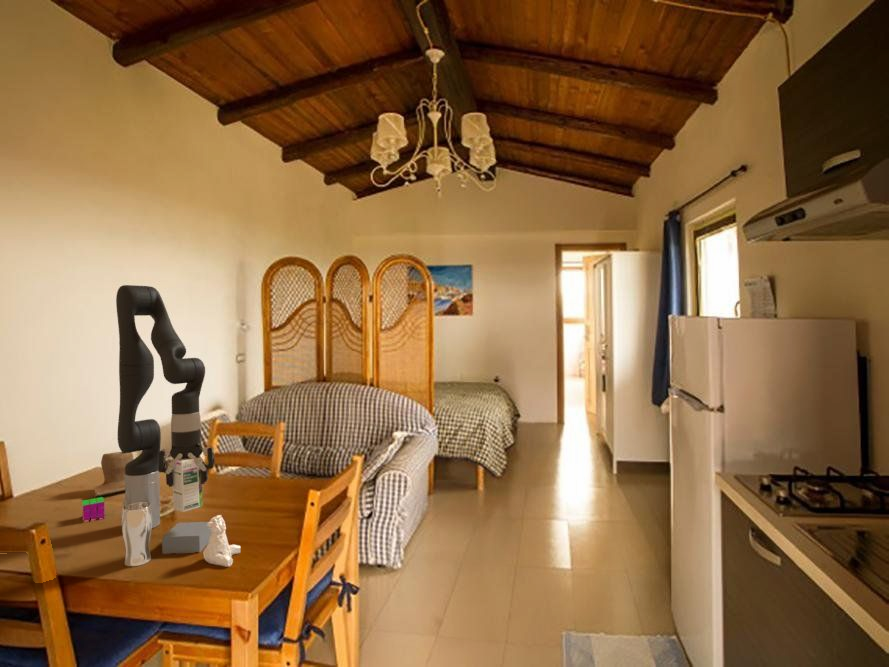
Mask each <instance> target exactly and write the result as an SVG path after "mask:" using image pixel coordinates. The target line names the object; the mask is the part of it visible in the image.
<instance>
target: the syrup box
mask: <svg viewBox="0 0 889 667" xmlns="http://www.w3.org/2000/svg"><path fill="white" fill-rule="evenodd" d="M201 458H202V457H201V456H200V457H198V459H199V460H200V461H201ZM194 460H195V459H190V458H183V459H177V460H176V461H177V464H176V466H175V467H174V468H173V470H172V476H173V486H172V496H173V497H172V500H173V502H172V503H173V509H174V510H176V511H178V512H181V513H186V512H189V511H193V510H196V509H198V508H202V507H203V506H204V504H203V484H201V471H202V470H201V468H200V467H199V466H197V465H196V464H195V462H194ZM173 461H174V458H172V459H171V463H172V462H173Z"/></svg>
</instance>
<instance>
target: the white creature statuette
mask: <svg viewBox="0 0 889 667" xmlns="http://www.w3.org/2000/svg"><path fill="white" fill-rule="evenodd" d="M208 522H209V523H207V526H208V527H209V529H210V530H211V532H212V535H210V537H209V541H208V544H207V545H206V546H205V547H204V548H203V550H202V552H203V553H202V554H203V558H204V561H205V562H207V563H208V564H211V565H215V566H222V567H225V568H228V567H231V566H232V565H233V563H234V559H233V558H232V556H233V555H238V554H241V545H238V544H234V543H233V544H229V541H228V537H227V534H226V530H227V527H226V521H225V520H224V518H223V517H222V514H217V515H215V516H213V517H212V518H210V520H209V521H208Z"/></svg>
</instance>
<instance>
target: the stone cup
mask: <svg viewBox="0 0 889 667" xmlns="http://www.w3.org/2000/svg"><path fill="white" fill-rule="evenodd" d="M134 459H135V458H134V452H131V453H124V452H122V451H116V452H108V453H104V454H103V455H102V457H101V461H100V464H101V465H100V466H101V469H102V473H103V474H102V475H103V479H104V481H103V482H102V483H101V484H100V485H97V486H94V488H93V494H94V498H95V497H96V496H97V497H103V496H108V495H112V493H113V494H116V492H117V493H120V492H125V465H126V464H127V463H129V462H130V461H132V460H134ZM107 494H108V495H107ZM102 495H103V496H102ZM97 497H96V498H97Z"/></svg>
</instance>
